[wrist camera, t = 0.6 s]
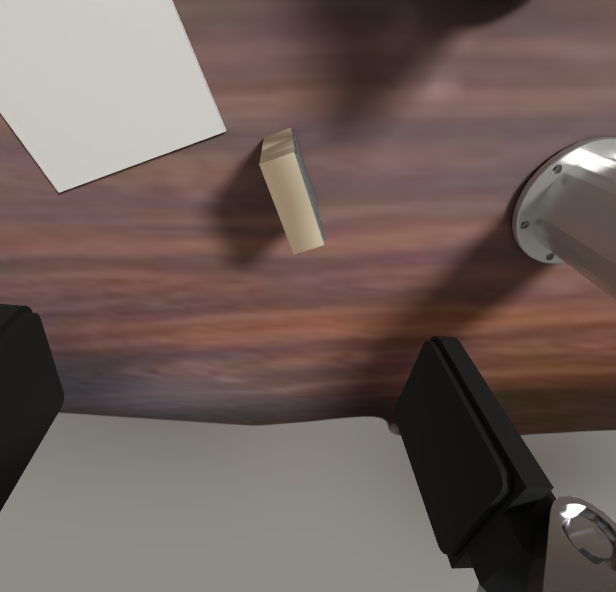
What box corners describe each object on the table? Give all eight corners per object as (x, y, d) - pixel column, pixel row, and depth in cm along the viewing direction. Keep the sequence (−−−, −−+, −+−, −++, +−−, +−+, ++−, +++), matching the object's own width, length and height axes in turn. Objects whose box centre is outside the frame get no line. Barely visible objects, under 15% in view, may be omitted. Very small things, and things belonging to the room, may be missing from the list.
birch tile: (292, 127, 31) (296, 151, 23) (316, 202, 35) (326, 244, 27) (264, 137, 31) (259, 164, 24) (290, 211, 35) (293, 254, 27)
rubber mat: (112, -145, 22) (109, -149, 21) (226, 130, 30) (225, 131, 30) (-106, -40, 24) (-112, -41, 23) (61, 191, 32) (58, 192, 32)
